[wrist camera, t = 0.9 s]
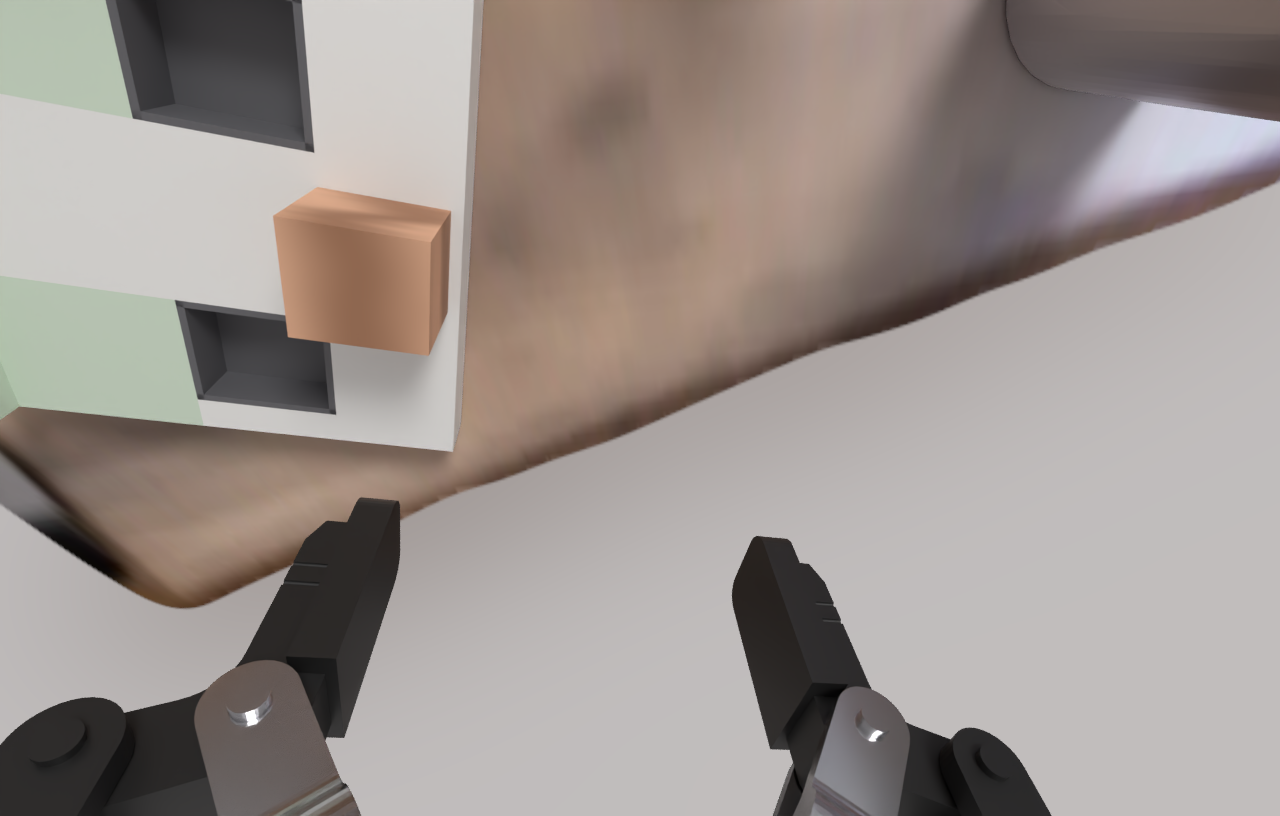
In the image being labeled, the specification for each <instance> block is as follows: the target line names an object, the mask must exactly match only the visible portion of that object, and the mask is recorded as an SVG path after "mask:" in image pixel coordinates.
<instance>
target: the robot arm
mask: <svg viewBox="0 0 1280 816" xmlns="http://www.w3.org/2000/svg"><path fill="white" fill-rule="evenodd" d="M1006 17H1007V23H1008V28H1009V34H1010V39H1011V42H1012V44H1013V47H1014V49H1015V51H1016V53H1017V56H1018V58H1019V60H1020V61H1021V62H1022V64H1023V65H1024V66H1025V67H1026V68H1027V69H1028V71H1029V72H1030V73H1031V74H1032V75H1033V76H1034V77H1036V78H1038V79H1039V80H1041V81H1042V82H1044V83H1046V84H1047V85H1049V86H1053V87H1057V88H1061V89H1065V90H1070V91H1077V92H1084V93H1091V94H1097V95H1104V96H1111V97H1118V98H1125V99H1130V100H1135V101H1141V102H1148V103H1155V104H1162V105H1169V106H1176V107H1183V108H1189V109H1196V110H1203V111H1210V112H1217V113H1224V114H1231V115H1238V116H1244V117H1251V118H1258V119H1265V120H1272V121H1279V122H1280V0H1007V6H1006ZM399 558H400V504H399V501H394V500H383V499H373V498H362V497H361V498H359V499H358V501H357V502H356V504H355V507H354V509H353V511H352V513H351V515H350V517H349V520H348V522H335V521H326V522H325V523H324V524H322V525H321V526H320V527H319V528H318V529H317V530H316V531H314V532H313V533H312V534H311V535H310V536H309V537H307V538H306V539H305V541H304V543H303V545H302V547H301V549H300V550H299V552H298V554H297V556H296V558H295V560H294V564H293V566H291V568H290V570H289V571H288V574H287V575H286V577H285V579H284V584H283V585H281V587H280V589H279V591H278V592H277V594H276V596H275V598H274V600H273V602H272V604H271V606H270V608H269V610H268V612H267V614H266V615H265V617H264V619H263V621H262V623H261V625H260V627H259V629H258V631H257V633H256V635H255V636H254V638H253V640H252V642H251V644H250V646H249V648H248V650H247V652H246V654H245V655H244V657H243V659H242V660H241V661H240V663H239V664H238V665H237V666H236V668H234V669H232V670H230V671H228V672H227V673H225V674H224V675H222V676H221V677H220V678H218V679H217V680H216V681H215V682H213V684H211V685H210V687H209V688H208V689H206V690H204V691H202V692H200V693H198V694H195V695H193V696H191V697H187V698H184V699H180V700H177V701H173V702H169V703H164V704H160V705H156V706H151V707H147V708H143V709H139V710H134V711H130V712H126V713H124V712H123V710H122V709H121V707H120V706H118V705H117V704H116V703H114V702H112V701H110V700H107V699H104V698H95V697H90V698H80V699H75V700H70V701H67V702H64V703H60V704H58V705H55V706H53V707H50V708H48V709H46V710H44V711H42V712H40V713H38V714H37V715H35V716H34V717H32V718H30V719H29V720H27V721H26V722H24V723H23V724H22V725H20V726H19V727H18V728H17V729H15V730H14V731H13V732H12V733H11V734H10V735H9V736H8V737H7V738H6V739H5V741H4V742H3V743H2V744H1V745H0V816H361V814H360V811H359V809H358V807H357V804H356V802H355V800H354V797H353V795H352V793H351V791H350V789H349V787H348V786H347V785H346V784H344V783H343V782H342V780H341V778H340V776H339V774H338V772H337V769H336V767H335V765H334V762H333V759H332V757H331V754H330V752H329V749H328V747H327V744H326V742H325V740H326V737H336V738H344V737H345V733H346V731H347V727H348V724H349V721H350V718H351V715H352V712H353V709H354V706H355V703H356V700H357V697H358V694H359V691H360V687H361V685H362V682H363V678H364V675H365V672H366V669H367V666H368V663H369V660H370V657H371V654H372V651H373V648H374V645H375V642H376V638H377V635H378V632H379V629H380V626H381V623H382V620H383V617H384V614H385V611H386V608H387V605H388V602H389V598H390V595H391V592H392V589H393V586H394V583H395V580H396V575H397V571H398V565H399ZM732 601H733V608H734V612H735V616H736V620H737V623H738V627H739V631H740V635H741V639H742V643H743V646H744V650H745V654H746V658H747V662H748V666H749V670H750V673H751V677H752V681H753V685H754V688H755V693H756V696H757V700H758V704H759V708H760V712H761V715H762V719H763V723H764V726H765V731H766V735H767V738H768V742H769V746H770V749H783V750H785V749H786V750H790V753H791V756H792V760H793V764H792V766H791V767H790V769H789V771H788V774H787V776H786V779H785V782H784V785H783V788H782V791H781V794H780V796H779V799H778V803H777V805H776V808H775V811H774V813H773V816H1051V814H1050V812H1049V810H1048V809H1047V807H1046V805H1045V803H1044V801H1043V800H1042V798H1041V796H1040V794H1039V793H1038V791H1037V789H1036V787H1035V786H1034V784H1033V782H1032V780H1031V779H1030V777H1029V775H1028V773H1027V771H1026V770H1025V768H1024V766H1023V765H1022V763H1021V762H1020V760H1019V759H1018V758H1017V756H1016V755H1015V754H1014V753H1013V752H1012V750H1011V749H1010V748H1008V747H1007V746H1006V745H1005V744H1004V743H1003V742H1002V741H1000V740H999V739H998V738H996V737H995V736H993V735H991V734H990V733H987V732H985V731H983V730H980V729H976V728H964V729H961V730H960V731H958V732H957V733H956V734H955V735H954V736H953V738H952V739H948V738H945V737H942V736H940V735H937V734H934V733H931V732H929V731H926V730H924V729H921V728H918V727H915V726H913V725H911V724H908V723H906V722H905V720H904V718H903V716H902V715H901V713H900V712H899V711H898V709H897V708H896V707H895V706H894V705H893V704H892V703H891V702H890V701H889V700H888V699H887V698H885V697H884V696H882V695H881V694H879V693H878V692H876V691H874V690H872V689H871V687H870V685H869V683H868V681H867V679H866V676H865V674H864V672H863V669H862V667H861V665H860V662H859V660H858V658H857V656H856V653H855V651H854V649H853V646H852V644H851V642H850V639H849V637H848V635H847V633H846V630H845V628H844V626H843V624H841V622H840V621H841V619H840V616H839V614H838V612H837V610H836V608H835V607H834V606H833V600H832V598H831V596H830V593H829V591H828V589H827V587H826V584H825V582H824V581H823V580H822V579H821V578H820V576H819V575H818V574H817V573H816V572H815V571H814V570H813V568H812V567H811V566H810V565H809V564H803V563H799V560H798V558H797V555H796V553H795V550H794V548H793V546H792V543H791V542H790V541H789V540H788V539H782V538H772V537H761V536H756V537H754V538H753V539H752V541H751V543H750V545H749V548H748V550H747V552H746V555H745V557H744V559H743V561H742V564H741V566H740V568H739V570H738V573H737V575H736V577H735V580H734V583H733V589H732Z"/></svg>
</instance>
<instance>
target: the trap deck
mask: <svg viewBox="0 0 1280 816" xmlns="http://www.w3.org/2000/svg"><path fill="white" fill-rule="evenodd" d="M483 3H484V0H0V420H1V419H2V418H4V417H5V416H6V415H8V414H9V413H11V412H12V411H14V410H15V409H16V408H18V407H19V406H20V407H30V408H40V409H49V410H59V411H68V412H78V413H87V414H97V415H107V416H116V417H126V418H135V419H145V420H154V421H164V422H174V423H183V424H193V425H202V426H212V427H221V428H231V429H241V430H250V431H260V432H269V433H279V434H288V435H298V436H308V437H317V438H327V439H336V440H346V441H355V442H365V443H374V444H384V445H394V446H403V447H413V448H422V449H432V450H441V451H451V452H453V450H454V446H455V443H456V439H457V436H458V432H459V429H460V425H461V414H462V395H463V376H464V358H465V339H466V320H467V301H468V283H469V264H470V245H471V227H472V208H473V189H474V171H475V152H476V133H477V115H478V96H479V77H480V59H481V40H482V21H483ZM316 187H320V188H326V189H332V190H337V191H343V192H348V193H354V194H360V195H365V196H371V197H376V198H382V199H388V200H393V201H399V202H405V203H410V204H416V205H421V206H427V207H433V208H438V209H444V210H449V211H451V231H450V260H449V289H448V313H447V315H446V318H445V320H444V322H443V325H442V327H441V329H440V331H439V334H438V336H437V338H436V341H435V343H434V345H433V347H432V350H431V352H430V354H429V356H426V355H418V354H411V353H403V352H396V351H388V350H381V349H373V348H366V347H358V346H351V345H343V344H336V343H328V342H321V341H313V340H306V339H298V338H291V337H288V332H287V324H286V317H285V309H284V301H283V293H282V285H281V277H280V269H279V261H278V253H277V245H276V237H275V229H274V221H273V215H275V214H277V213H278V212H280V211H281V210H283V209H284V208H286V207H287V206H289V205H290V204H292V203H293V202H295V201H297V200H298V199H300V198H301V197H303V196H304V195H306V194H307V193H309V192H310V191H312V190H313V189H315V188H316Z"/></svg>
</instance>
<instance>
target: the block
mask: <svg viewBox="0 0 1280 816" xmlns="http://www.w3.org/2000/svg"><path fill="white" fill-rule="evenodd" d="M273 221H274V229H275V237H276V245H277V253H278V261H279V269H280V277H281V285H282V293H283V301H284V309H285V317H286V324H287V332H288V337H291V338H298V339H306V340H313V341H321V342H328V343H336V344H343V345H351V346H358V347H366V348H373V349H381V350H388V351H396V352H403V353H411V354H418V355H426V356H429V354H430V352H431V350H432V347H433V345H434V343H435V341H436V338H437V336H438V334H439V331H440V329H441V327H442V325H443V322H444V320H445V318H446V315H447V313H448V289H449V260H450V231H451V211H449V210H444V209H438V208H433V207H427V206H421V205H416V204H410V203H405V202H399V201H393V200H388V199H382V198H376V197H371V196H365V195H360V194H354V193H348V192H343V191H337V190H332V189H326V188H320V187H316V188H315V189H313V190H312V191H310V192H309V193H307V194H306V195H304V196H303V197H301V198H300V199H298V200H297V201H295V202H293V203H292V204H290V205H289V206H287V207H286V208H284V209H283V210H281V211H280V212H278V213H277V214H275V215H273Z"/></svg>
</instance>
